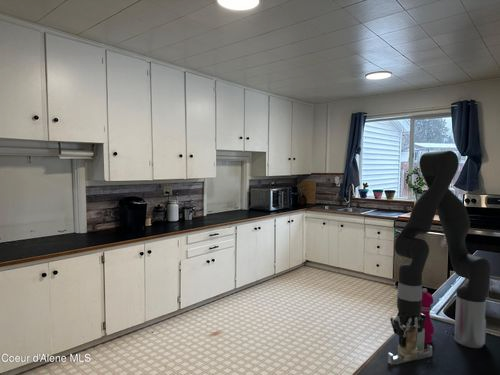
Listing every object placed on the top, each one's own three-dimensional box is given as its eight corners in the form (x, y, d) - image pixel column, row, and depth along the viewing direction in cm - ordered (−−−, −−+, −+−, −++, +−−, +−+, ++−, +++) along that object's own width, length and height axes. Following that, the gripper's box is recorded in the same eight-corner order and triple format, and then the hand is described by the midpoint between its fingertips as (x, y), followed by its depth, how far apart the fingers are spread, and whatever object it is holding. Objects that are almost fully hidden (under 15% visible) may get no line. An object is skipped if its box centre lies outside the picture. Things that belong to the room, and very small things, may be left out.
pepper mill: (409, 339, 130) (411, 288, 129) (416, 332, 136) (418, 283, 134) (429, 346, 125) (431, 293, 124) (436, 339, 130) (438, 288, 129)
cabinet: (413, 343, 127) (413, 323, 127) (423, 350, 122) (424, 329, 122) (399, 346, 125) (400, 325, 125) (410, 353, 120) (411, 331, 120)
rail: (428, 353, 120) (428, 344, 120) (431, 356, 119) (432, 346, 119) (387, 363, 115) (388, 353, 114) (391, 365, 113) (391, 355, 113)
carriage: (408, 352, 119) (409, 326, 118) (417, 358, 115) (418, 331, 115) (397, 355, 117) (398, 328, 117) (405, 361, 114) (406, 333, 113)
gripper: (417, 289, 121) (415, 336, 122) (384, 294, 116) (382, 343, 117) (434, 297, 114) (432, 347, 115) (400, 302, 109) (398, 354, 110)
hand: (407, 345), depth 116 cm, fingers closed on carriage, 3 cm apart
